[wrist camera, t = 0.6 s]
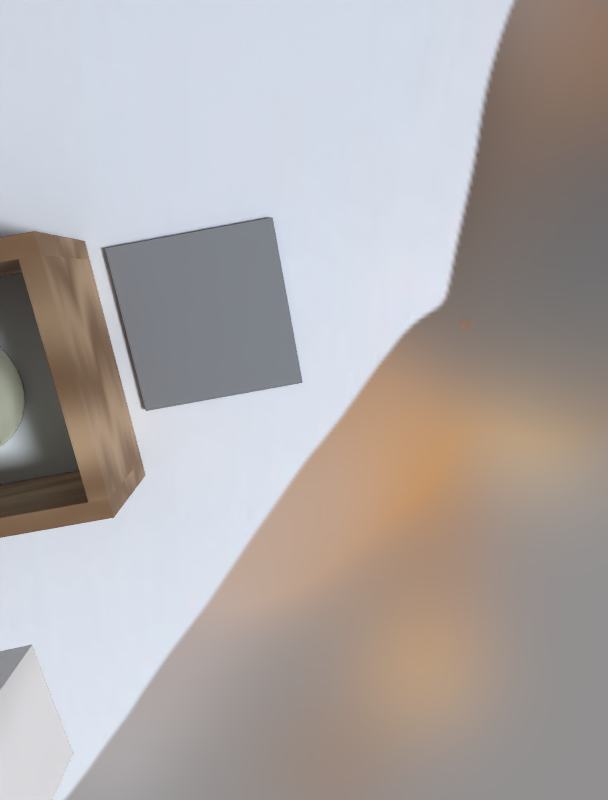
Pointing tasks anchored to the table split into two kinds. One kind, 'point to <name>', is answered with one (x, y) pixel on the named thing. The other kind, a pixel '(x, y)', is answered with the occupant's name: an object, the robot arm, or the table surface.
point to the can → (9, 398)
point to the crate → (72, 391)
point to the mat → (206, 313)
